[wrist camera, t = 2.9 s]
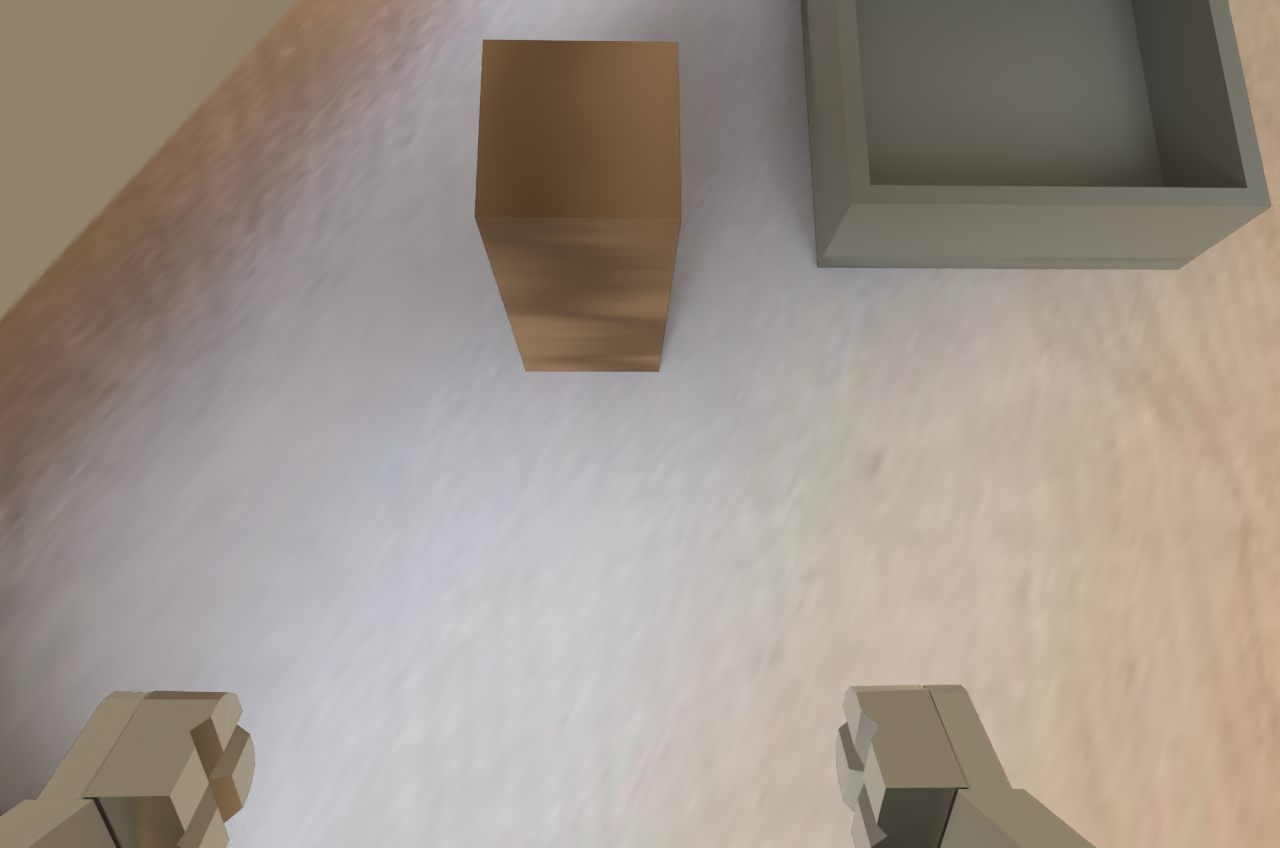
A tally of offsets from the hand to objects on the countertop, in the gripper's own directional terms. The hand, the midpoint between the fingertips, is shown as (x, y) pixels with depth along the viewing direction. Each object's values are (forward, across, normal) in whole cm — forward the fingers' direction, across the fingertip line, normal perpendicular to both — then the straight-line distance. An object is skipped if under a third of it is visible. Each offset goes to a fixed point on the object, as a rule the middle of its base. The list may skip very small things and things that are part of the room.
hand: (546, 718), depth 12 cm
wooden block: (+23, 0, +4) cm, 23 cm away
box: (+29, -16, -3) cm, 33 cm away
